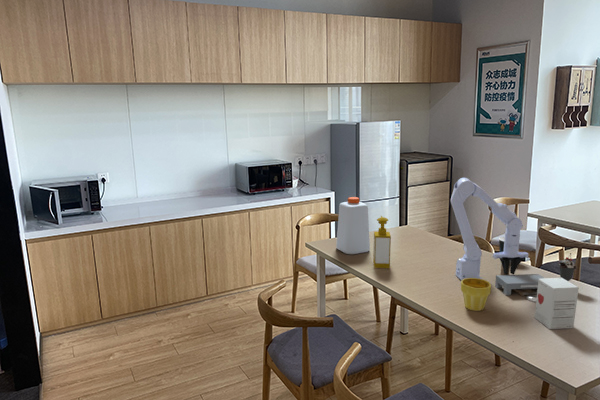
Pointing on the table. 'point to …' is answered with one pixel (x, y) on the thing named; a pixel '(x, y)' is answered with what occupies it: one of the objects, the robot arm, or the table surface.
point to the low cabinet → (517, 282)
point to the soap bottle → (382, 246)
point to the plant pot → (475, 293)
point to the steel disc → (532, 297)
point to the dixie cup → (502, 245)
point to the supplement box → (556, 303)
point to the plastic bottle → (353, 227)
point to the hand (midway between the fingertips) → (508, 273)
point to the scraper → (521, 291)
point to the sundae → (567, 269)
